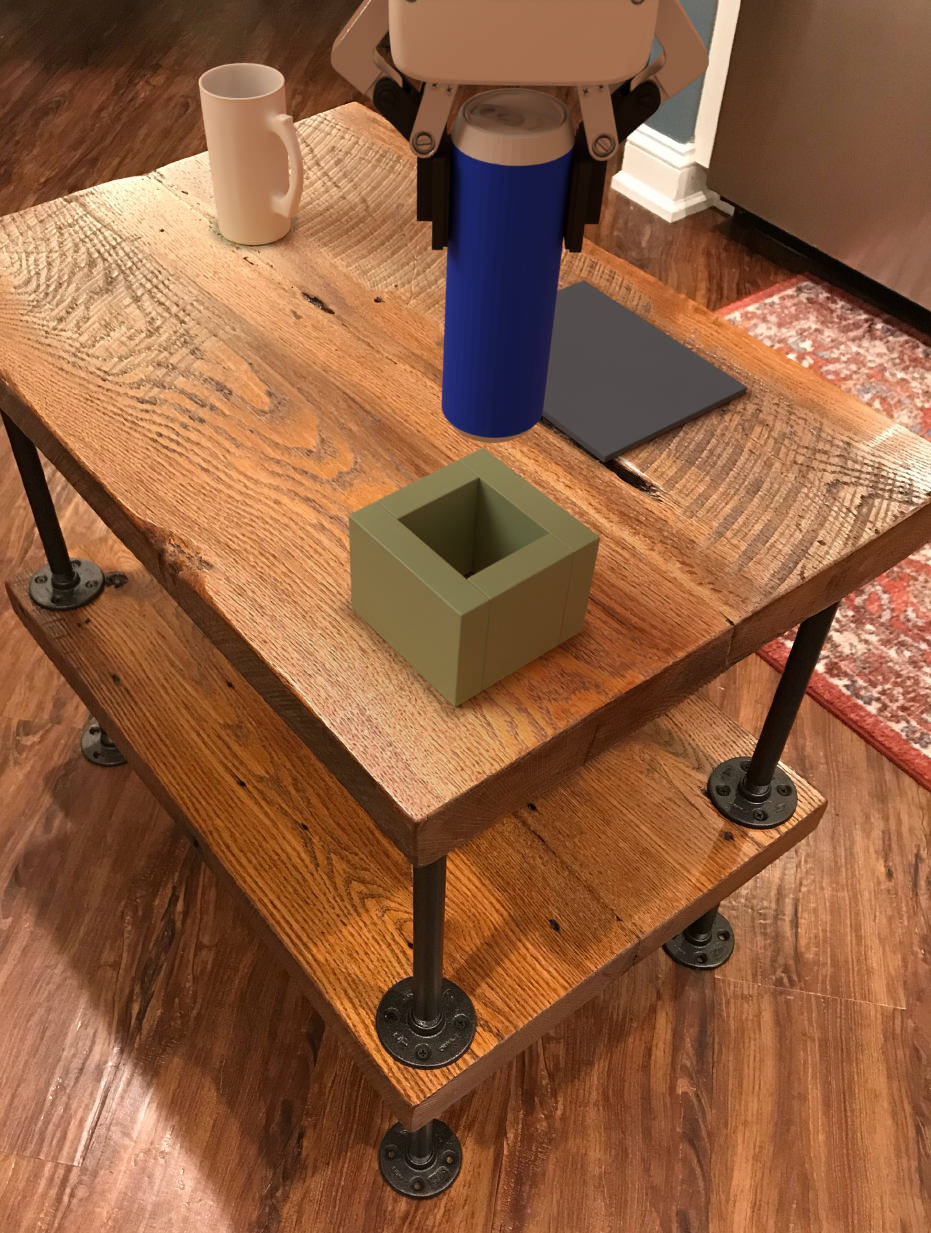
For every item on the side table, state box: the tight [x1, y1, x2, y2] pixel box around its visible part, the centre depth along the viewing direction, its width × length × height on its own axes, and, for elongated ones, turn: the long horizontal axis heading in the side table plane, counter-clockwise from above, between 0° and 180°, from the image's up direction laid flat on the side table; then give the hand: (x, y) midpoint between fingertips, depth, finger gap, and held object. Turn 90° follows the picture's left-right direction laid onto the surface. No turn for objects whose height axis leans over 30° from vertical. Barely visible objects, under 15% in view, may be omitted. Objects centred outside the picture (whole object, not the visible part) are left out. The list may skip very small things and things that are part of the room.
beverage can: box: [441, 87, 576, 444], centre depth 53 cm, size 5×5×15 cm
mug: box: [198, 62, 305, 246], centre depth 94 cm, size 10×7×12 cm, turn 44°
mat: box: [541, 279, 748, 464], centre depth 86 cm, size 18×14×1 cm
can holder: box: [348, 447, 601, 708], centre depth 67 cm, size 10×10×8 cm
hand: (506, 232), depth 51 cm, fingers closed on beverage can, 5 cm apart
